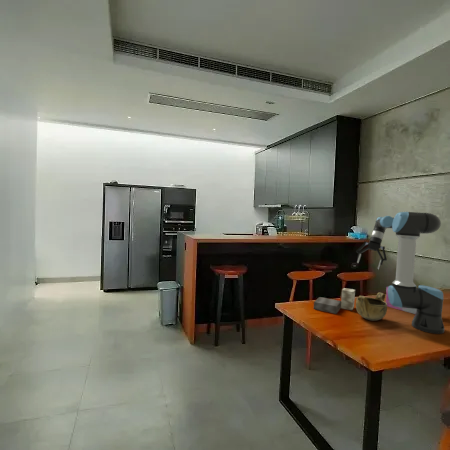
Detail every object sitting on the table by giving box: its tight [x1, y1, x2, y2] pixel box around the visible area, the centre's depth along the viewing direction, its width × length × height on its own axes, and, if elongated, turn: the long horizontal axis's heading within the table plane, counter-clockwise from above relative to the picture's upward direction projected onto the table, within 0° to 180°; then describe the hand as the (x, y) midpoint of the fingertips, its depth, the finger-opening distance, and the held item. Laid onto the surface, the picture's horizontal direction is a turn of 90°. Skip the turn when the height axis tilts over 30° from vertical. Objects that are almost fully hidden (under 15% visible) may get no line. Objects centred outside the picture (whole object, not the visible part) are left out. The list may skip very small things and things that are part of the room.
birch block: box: [340, 287, 356, 311], centre depth 196 cm, size 7×7×12 cm
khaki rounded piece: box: [355, 291, 388, 322], centre depth 177 cm, size 22×17×15 cm
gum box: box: [385, 286, 417, 315], centre depth 198 cm, size 24×8×14 cm, turn 40°
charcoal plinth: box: [313, 296, 342, 315], centre depth 193 cm, size 14×14×5 cm
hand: (367, 265), depth 210 cm, fingers open, 13 cm apart
